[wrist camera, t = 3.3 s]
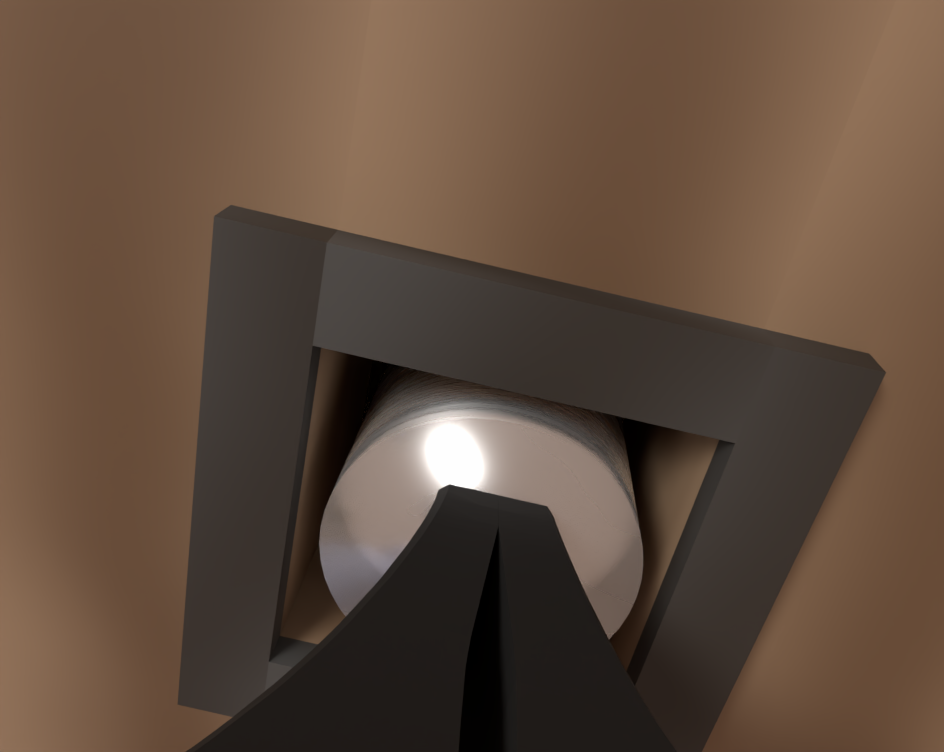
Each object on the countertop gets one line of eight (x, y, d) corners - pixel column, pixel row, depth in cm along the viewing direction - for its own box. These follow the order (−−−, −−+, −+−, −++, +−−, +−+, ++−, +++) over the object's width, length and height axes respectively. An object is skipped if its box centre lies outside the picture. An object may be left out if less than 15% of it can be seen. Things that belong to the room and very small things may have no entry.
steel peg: (374, 454, 15) (301, 646, 11) (411, 255, 14) (343, 384, 9) (580, 502, 15) (592, 711, 11) (643, 309, 14) (688, 464, 9)
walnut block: (76, 606, 18) (-99, 834, 13) (75, -254, 11) (-287, -440, 7) (766, 763, 19) (844, 1043, 14) (1174, 8, 12) (1633, 21, 7)
